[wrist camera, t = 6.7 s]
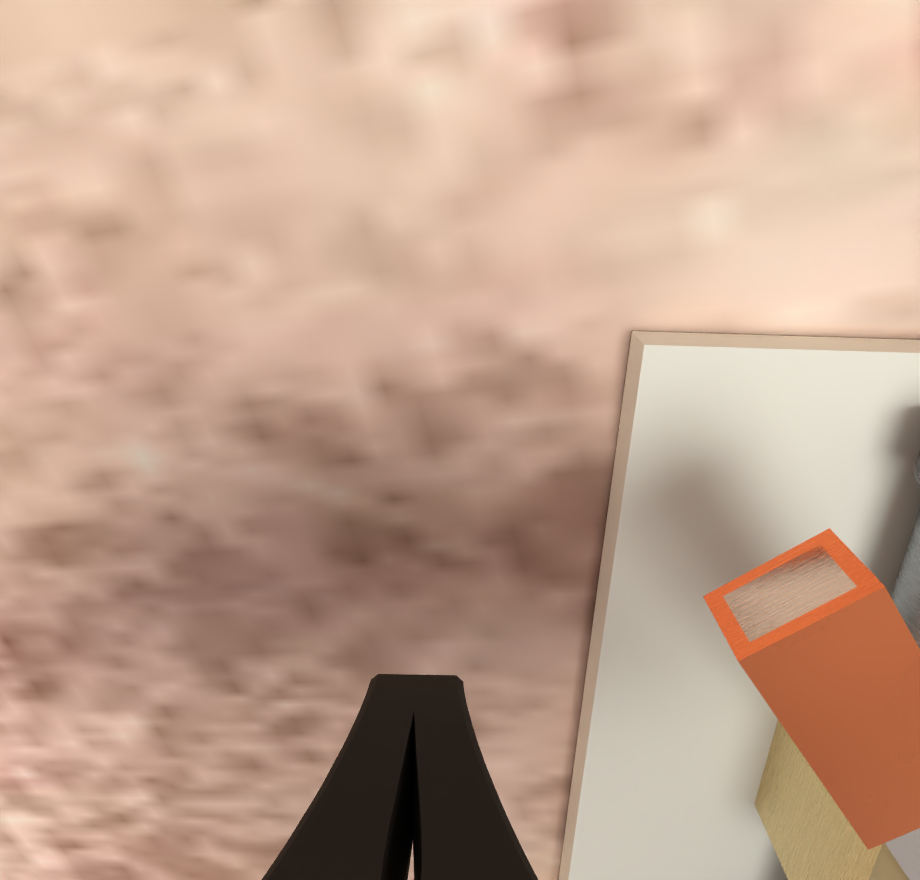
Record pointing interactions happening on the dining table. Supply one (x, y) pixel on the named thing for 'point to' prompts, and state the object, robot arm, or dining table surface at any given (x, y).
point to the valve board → (721, 578)
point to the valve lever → (836, 681)
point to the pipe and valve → (807, 800)
